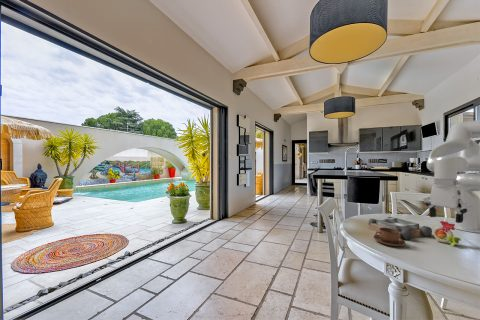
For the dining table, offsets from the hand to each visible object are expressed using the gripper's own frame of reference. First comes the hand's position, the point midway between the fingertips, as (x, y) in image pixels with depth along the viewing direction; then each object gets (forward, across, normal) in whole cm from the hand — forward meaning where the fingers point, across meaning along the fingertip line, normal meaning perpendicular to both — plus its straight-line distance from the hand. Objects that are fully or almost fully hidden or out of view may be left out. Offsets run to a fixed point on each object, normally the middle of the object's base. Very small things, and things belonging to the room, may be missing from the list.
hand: (445, 219), depth 94 cm
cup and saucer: (+12, +8, +24) cm, 28 cm away
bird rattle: (+12, 0, -1) cm, 12 cm away
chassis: (+11, +18, +4) cm, 22 cm away
